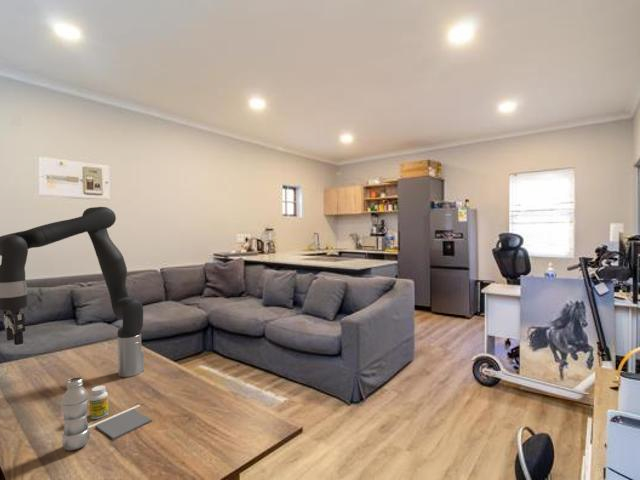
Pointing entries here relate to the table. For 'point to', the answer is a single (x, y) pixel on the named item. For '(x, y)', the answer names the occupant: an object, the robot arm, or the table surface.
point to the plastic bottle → (75, 415)
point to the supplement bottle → (98, 402)
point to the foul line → (113, 416)
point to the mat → (123, 424)
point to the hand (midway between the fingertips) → (14, 342)
